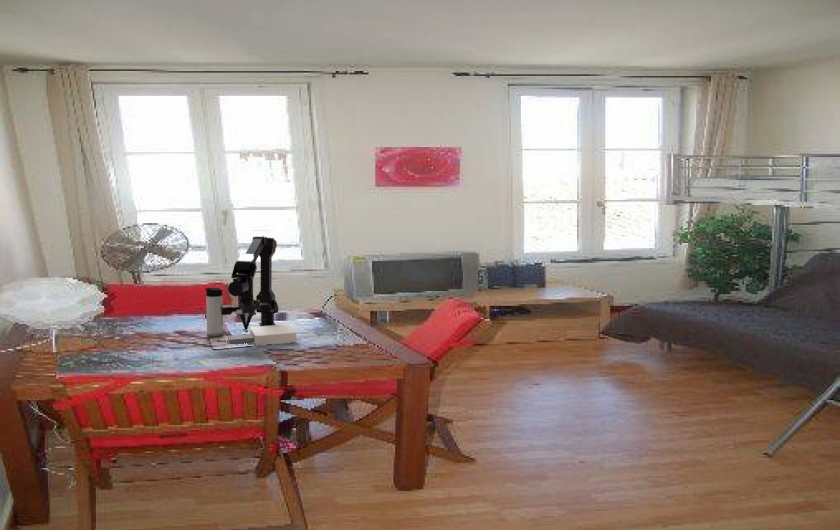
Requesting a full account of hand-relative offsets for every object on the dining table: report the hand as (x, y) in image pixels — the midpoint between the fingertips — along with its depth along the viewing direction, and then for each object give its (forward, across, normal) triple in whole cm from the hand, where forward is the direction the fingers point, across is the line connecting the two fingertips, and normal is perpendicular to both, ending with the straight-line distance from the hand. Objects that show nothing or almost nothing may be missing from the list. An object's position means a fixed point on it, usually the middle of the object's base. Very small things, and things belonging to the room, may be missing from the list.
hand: (245, 329), depth 210 cm
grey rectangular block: (+5, -2, 0) cm, 5 cm away
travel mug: (+5, -10, +14) cm, 19 cm away
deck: (+5, +10, 0) cm, 12 cm away
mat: (+5, -6, 0) cm, 7 cm away
